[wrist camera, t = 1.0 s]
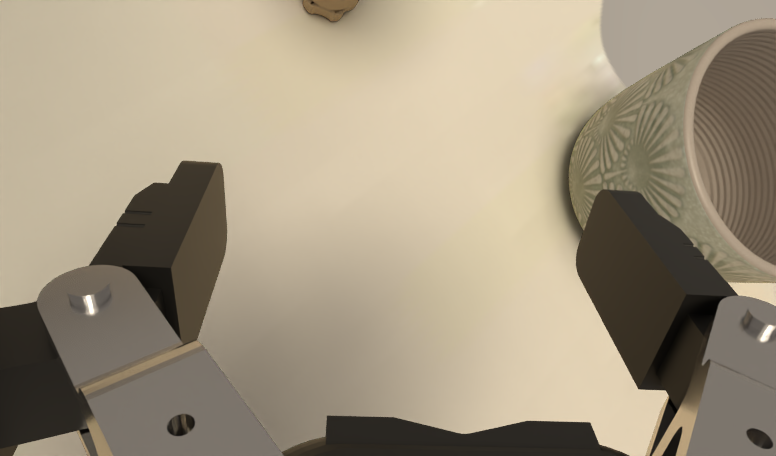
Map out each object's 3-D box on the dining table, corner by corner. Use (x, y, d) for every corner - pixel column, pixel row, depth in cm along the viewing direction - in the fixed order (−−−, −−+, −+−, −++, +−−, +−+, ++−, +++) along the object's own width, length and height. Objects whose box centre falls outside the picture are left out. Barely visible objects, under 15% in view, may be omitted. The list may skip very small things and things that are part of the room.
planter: (732, 163, 39) (920, 115, 28) (667, 323, 36) (850, 334, 25) (595, 58, 37) (743, -36, 26) (512, 219, 34) (644, 185, 23)
